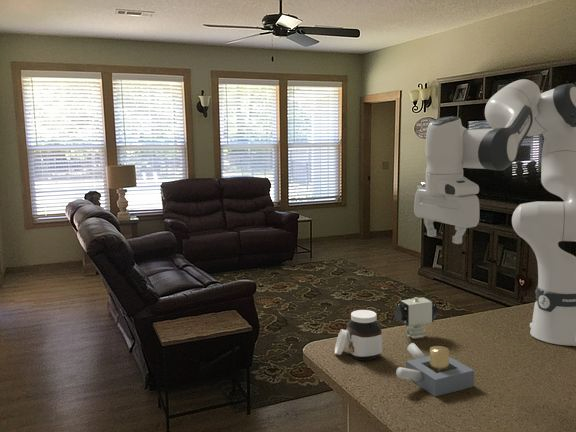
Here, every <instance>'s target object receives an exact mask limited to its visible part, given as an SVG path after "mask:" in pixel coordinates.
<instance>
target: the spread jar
mask: <svg viewBox="0 0 576 432" xmlns="http://www.w3.org/2000/svg"><path fill="white" fill-rule="evenodd" d="M377 315H378V314H377V313H376V312H375V311H373V310H369V309H358V310H354V311H351V313H350V320H349V321H348V322H347V325H346V329H342V328H341V329H340V331H339V332H338V336H337V338H336V341H335V346H334V354H335V355H338V356H341V355H342V354H343V351H344V348H345V345H346V347H347V350H348V352H349V353H348V354H349V355H350V356H351V357H352V358H353V359H355V360H359V361H372V360H374V359H377V358H378V357H379V356H380V355H381V354H382V351H383V333H382V328H381V326H380V324H379V322H378V320H377V319H378V317H377Z"/></svg>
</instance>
